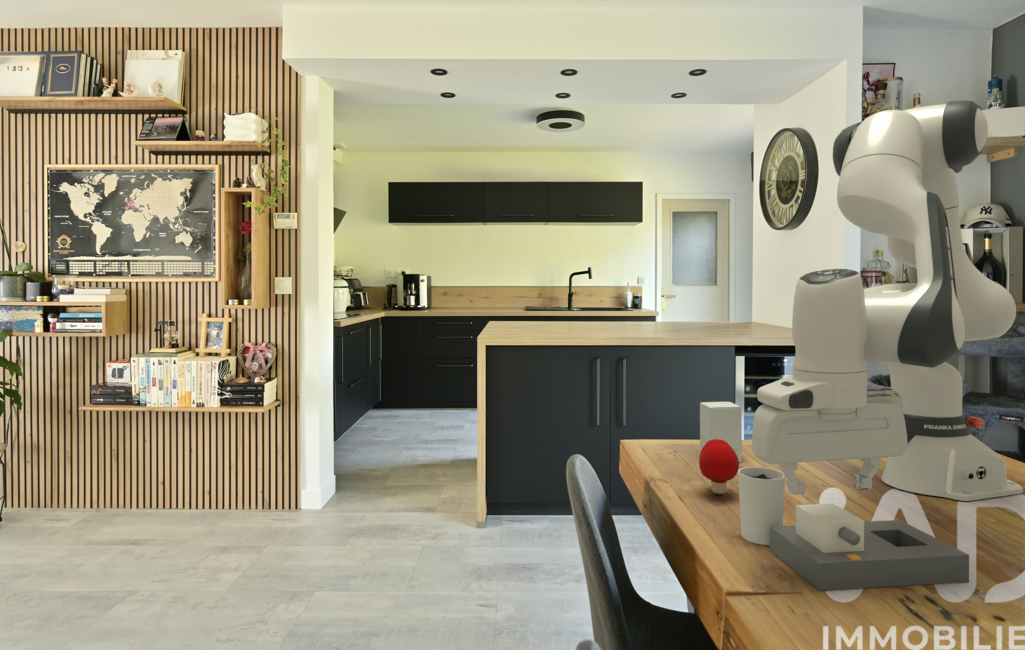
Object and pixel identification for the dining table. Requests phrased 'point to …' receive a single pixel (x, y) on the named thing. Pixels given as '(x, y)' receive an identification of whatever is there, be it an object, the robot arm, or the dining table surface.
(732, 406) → the supplement box
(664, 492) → the dining table surface
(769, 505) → the beige cup
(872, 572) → the double socket
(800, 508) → the plug
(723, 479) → the red rounded egg-shaped part
